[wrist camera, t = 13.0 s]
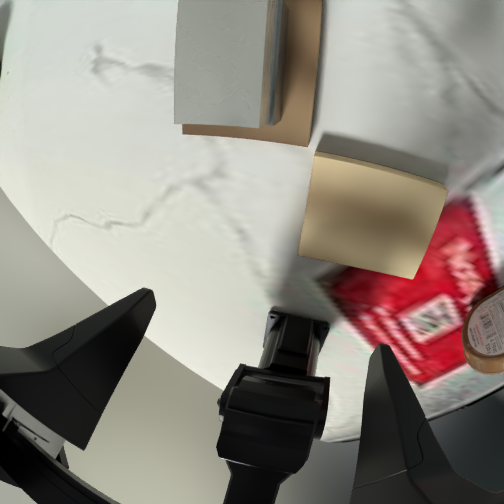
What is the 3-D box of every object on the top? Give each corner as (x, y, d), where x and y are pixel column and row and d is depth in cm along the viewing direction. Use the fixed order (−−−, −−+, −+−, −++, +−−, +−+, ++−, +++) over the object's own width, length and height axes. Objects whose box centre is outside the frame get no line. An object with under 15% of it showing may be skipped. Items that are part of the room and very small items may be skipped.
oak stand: (409, 268, 21) (412, 279, 20) (299, 244, 23) (297, 255, 22) (441, 183, 16) (448, 190, 15) (315, 151, 18) (314, 155, 17)
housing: (289, 9, 12) (273, -17, 8) (280, 121, 16) (262, 132, 12) (213, 11, 12) (176, -7, 9) (208, 115, 17) (171, 127, 13)
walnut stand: (309, 143, 18) (307, 147, 17) (191, 130, 20) (182, 134, 18) (322, 0, 12) (321, -6, 10) (197, 1, 13) (188, -3, 12)
